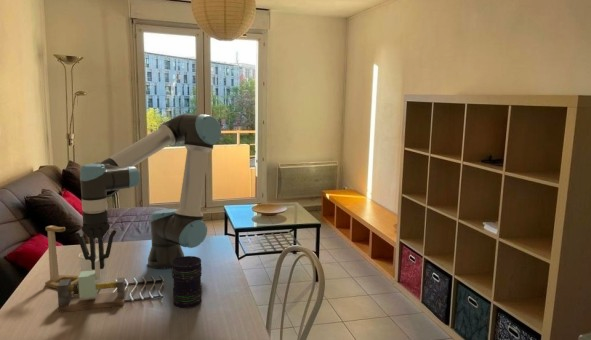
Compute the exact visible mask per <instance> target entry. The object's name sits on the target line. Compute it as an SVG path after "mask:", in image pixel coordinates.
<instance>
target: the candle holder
mask: <svg viewBox="0 0 591 340" xmlns="http://www.w3.org/2000/svg"><path fill="white" fill-rule="evenodd" d="M88 251H89V254H90V249H88ZM95 251H96V259H97V258H99V248H95ZM104 254H106V249H104ZM78 261H79V262H78V263H79V269H80V273H81V272H82V271H93V270H92V268H91V261H90V260H85V258H84V255H83V252H82V251H81V252H80V253H79V254H78ZM107 279H108V258H105V259H104V268H103V269H101V279H100V280H98V283H106V282H108V280H107Z"/></svg>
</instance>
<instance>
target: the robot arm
mask: <svg viewBox="0 0 591 340" xmlns="http://www.w3.org/2000/svg"><path fill="white" fill-rule="evenodd" d="M221 136H222V127H221V124H220V123H219V121H218V119H217V118H215V116H214V115H209V114H205V113H183V114H180V115H179V114H178V115H177V116H174V117H172V118H171V119H168V120H166V121H165V122H164V123H162V124H160V125H159V126H158V127H157V129H156V130H155V131H152V132H151V133H149V134H147V135H145V136H144V137H143V138H141V139H139V140H137V141H136V142H133V143H132V144H131V145H129V146H127V147H125V148H124V149H122V150H120V151H118V152H117V153H114V154H113V155H112V156H109V157H108V158H105V159H104V160H102V161H101V162H98V161H97V162H92V163H87V164H83V165H82V166H80V172H79V181H80V182H79V183H80V193H81V211H82V226H81V229H79V230H77V231H76V232H75V233H74V237H75V238H76V239H77V240H78V243H79V246H80V248H81V249H80V250H81V253H82V252H83V255H84V258H85V260H90V261H91V268H92V270H95V277H96V280H100V279H101V269H103V268H104V259H105V258H107V259H109V257H110V255H111V251H112V250H111V249H112V246H113V240H114V237H115V235H116V234H117V231H118V230H117V228H114V227H113V228H112V227H111V225H110V224H109V218H108V210H107V209H108V200H107V198H108V197H107V196H108V195H107V194H108V193H107V192H111V191H117V190H123V189H130V188H134V187H137V186H138V185H140V181H141V174H140V171H139V168H137V167H136V166H137V165H139V164H140V163H142V162H143V161H145V160H146V159H148V158H149V157H151V156H153V155H154V154H156V153H158V152H159V151H161V150H163V149H165V148H166V147H168V146H174V145H176V144H177V143H181V142H182V143H183V146H184V147H185V148H186V154H185V163H184V171H183V177H182V184H181V190H180V191H181V193H180V198H179V207H178V208H165V209H160V210H156V211H153V212H152V213H151V215H150V220H149V221H150V234H151V236H150V237H151V247H150V251H149V254H148V257H147V264H148V266H149V267H151V268H153V269H160V270H161V269H162V270H163V269H164V270H165V269H172V266H173V265H172V261H173V260H174V259H176V258H179V257H184V256H185V254H184V251H183V248H189V249H193V248H197V247H198V246H199V247H200V245H201V244H202V243H203V242H204V241H205V239H206V237H207V235H208V226H207V224H206V222H204V213H203V212H202V211H201V209H202V201H203V196H204V195H203V194H204V188H205V187H204V186H205V180H206V174H207V166H208V161H209V160H208V159H209V153H210V152H211V151H213V149H214V145H215V144H217V143H218V141H219V140H220V139H221ZM106 233H108V235H109V237H108V241H107V246H106V249H105V246H104V236H105V235H106ZM84 235H85V236H86V237H88V238H89V249H88V245H87V243H86V239H85V237H84ZM96 239H97V243H98V244H97V245H98V249H99V258H97V259H96V251H95V249H96ZM182 247H183V248H182ZM88 250H90V254H89V251H88ZM104 250H106V254H104Z"/></svg>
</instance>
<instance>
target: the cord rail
mask: <svg viewBox="0 0 591 340" xmlns="http://www.w3.org/2000/svg"><path fill="white" fill-rule="evenodd" d="M71 282H72V280H71V279H66V280H60V282H58V283H59V284H58V286H57V289H56V290H57V302H58V306H57V313H64V312H65V313H67V312H73V311H76V312H77V311H83V310H91V309H102V308H103V309H104V308H110V307H119V306H121V307H122V306H124V305H125V300H126V296H127V292H126V285H125V277H118V278H117V280H116V281H109V282H108V281H107V282H106V283H96V289H98V290H102V289H103V290H106V289H114V288H116V291H115V292H113V291H112V292H104V293H102V292H101V293H97V295H96V297H88V298H80V297H79V295H78V294H79V284H78V283H74V286H71ZM72 295H73V296H72Z"/></svg>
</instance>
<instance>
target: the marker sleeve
mask: <svg viewBox="0 0 591 340" xmlns="http://www.w3.org/2000/svg"><path fill="white" fill-rule="evenodd" d="M78 276H79V277H78V281H79V292H78V294H79V295H78V296H79V297H80V298H88V297H96V295H97V294H99V289H96V283H98V280H96V277H95V270H93V271H82V272H81V271H80V273H79V275H78Z"/></svg>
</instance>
